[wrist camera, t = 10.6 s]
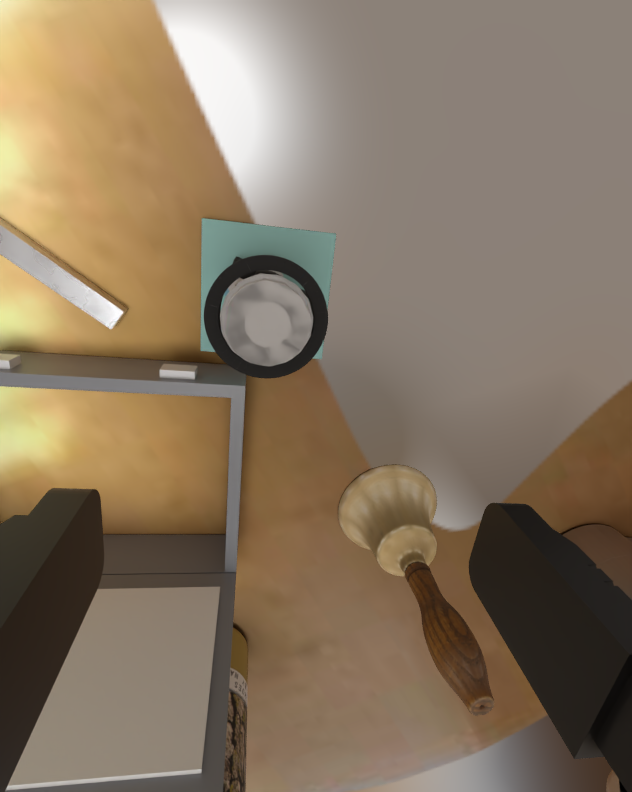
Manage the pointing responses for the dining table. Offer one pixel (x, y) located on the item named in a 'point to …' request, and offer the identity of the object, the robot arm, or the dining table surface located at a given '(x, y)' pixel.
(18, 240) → the rod
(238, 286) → the push button
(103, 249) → the dining table surface
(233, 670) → the brown bark-textured cylinder
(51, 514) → the robot arm
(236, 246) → the pad
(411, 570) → the hand bell
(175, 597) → the case
